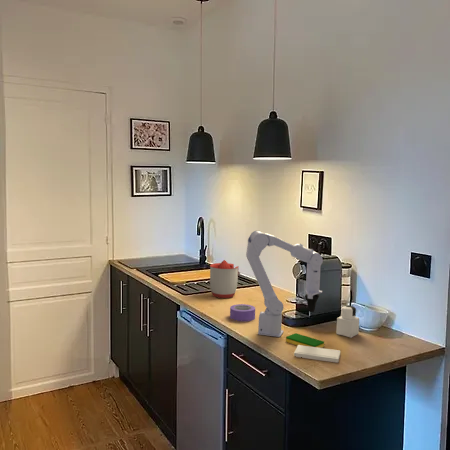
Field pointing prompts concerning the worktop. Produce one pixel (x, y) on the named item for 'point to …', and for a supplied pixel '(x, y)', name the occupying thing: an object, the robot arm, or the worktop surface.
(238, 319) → the tape roll
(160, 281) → the worktop surface
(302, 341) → the dish sponge
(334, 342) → the worktop surface
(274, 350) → the worktop surface
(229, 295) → the citrus juicer
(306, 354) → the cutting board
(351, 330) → the medicine bottle
